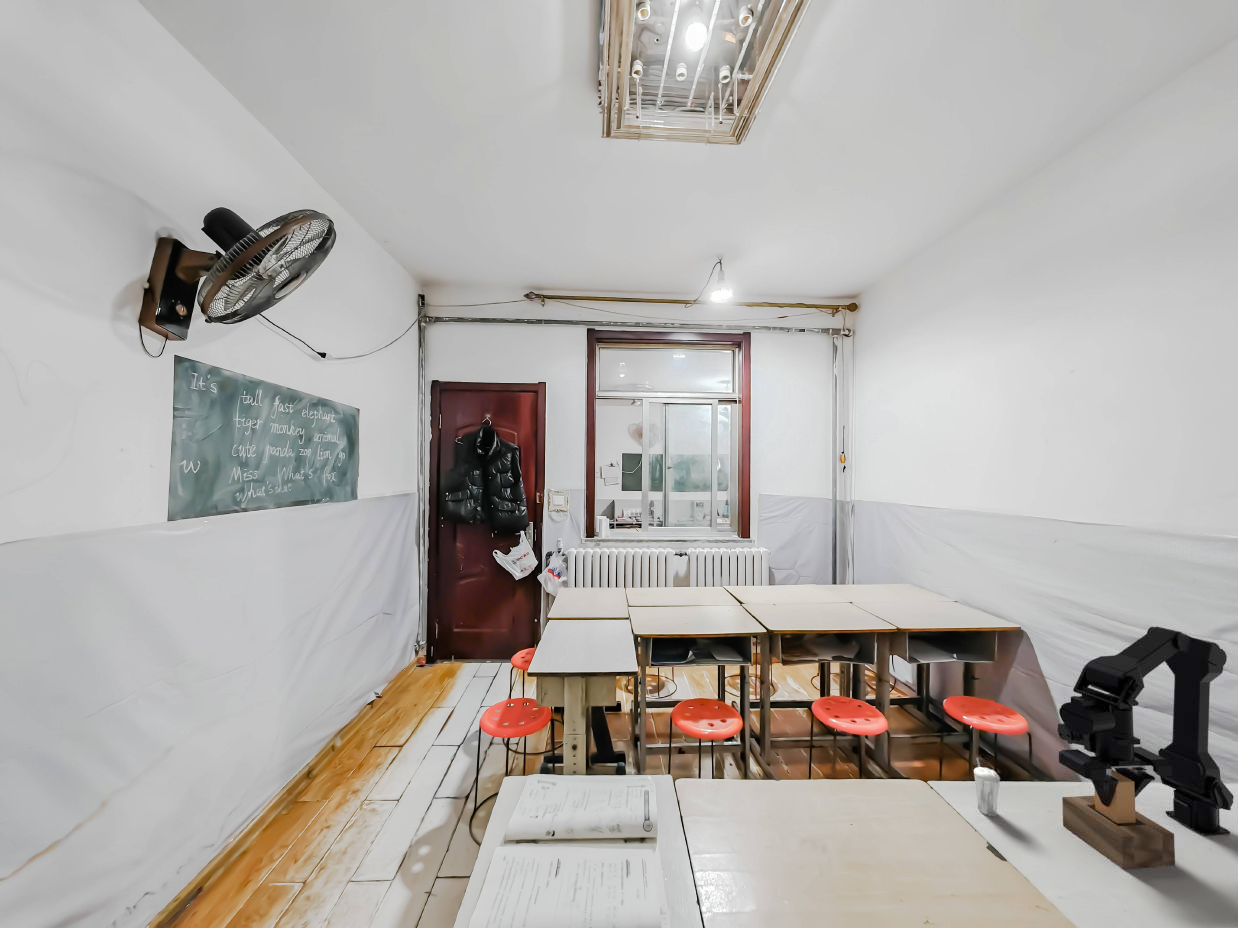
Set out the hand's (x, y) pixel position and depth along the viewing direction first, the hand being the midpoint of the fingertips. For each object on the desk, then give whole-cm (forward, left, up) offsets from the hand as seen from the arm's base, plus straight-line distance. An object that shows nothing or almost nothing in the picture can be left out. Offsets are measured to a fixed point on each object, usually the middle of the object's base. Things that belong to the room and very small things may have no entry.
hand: (1115, 804), depth 94 cm
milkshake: (+18, -11, -8) cm, 23 cm away
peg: (0, 0, -2) cm, 2 cm away
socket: (0, 0, -8) cm, 8 cm away
